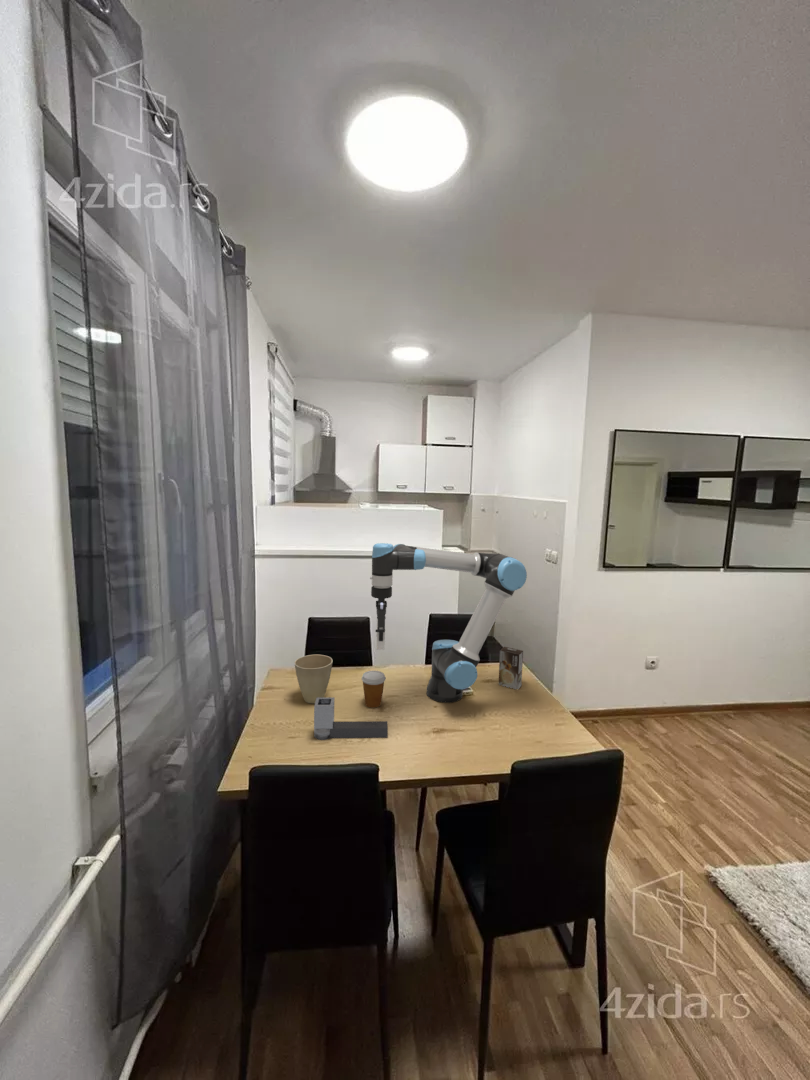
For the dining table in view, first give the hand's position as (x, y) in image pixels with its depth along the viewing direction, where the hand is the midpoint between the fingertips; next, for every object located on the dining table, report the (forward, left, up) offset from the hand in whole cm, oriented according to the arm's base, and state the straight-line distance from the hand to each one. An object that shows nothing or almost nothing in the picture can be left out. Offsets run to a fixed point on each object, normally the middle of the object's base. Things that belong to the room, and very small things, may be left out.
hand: (380, 642), depth 161 cm
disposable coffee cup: (+2, -10, -29) cm, 31 cm away
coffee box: (-59, -27, -29) cm, 71 cm away
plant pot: (+26, -14, -29) cm, 41 cm away
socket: (+19, +12, -25) cm, 33 cm away
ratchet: (+10, +12, -29) cm, 33 cm away
